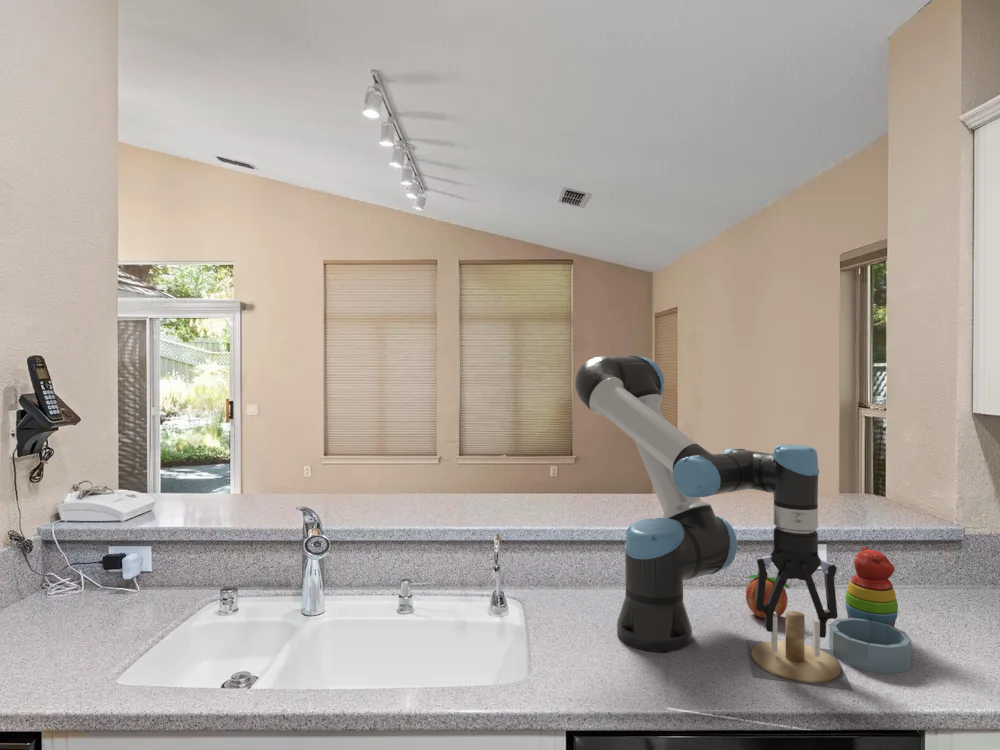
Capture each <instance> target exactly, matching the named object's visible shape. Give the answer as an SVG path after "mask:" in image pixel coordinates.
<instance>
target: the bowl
mask: <svg viewBox="0 0 1000 750" xmlns="http://www.w3.org/2000/svg"><path fill="white" fill-rule="evenodd" d="M828 649H830V650H831V652H832V654H833V656H835V657H836V658H837V659H838V661H839V660H840V661H841V662H842V663H845V665H848V666H850V667H854V668H857V669H861V670H863V671H867V672H871V673H881V674H887V675H888V674H889V675H891V674H898V673H906V672H907V671H908V670H909V668H911V666H912V639H911V638H910V637H909V635H908V634H907V633H906V632H905V631H903V630H901V629H899V628H897V627H895V626H894V627H893V626H891V625H888V624H884V623H881V622H877V621H873V620H868V619H858V618H848V617H847V618H846V617H845V618H836V619H834V620H833V621H832V622H830V624H829V648H828Z"/></svg>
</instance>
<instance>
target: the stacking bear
mask: <svg viewBox="0 0 1000 750" xmlns="http://www.w3.org/2000/svg"><path fill="white" fill-rule="evenodd" d="M853 565H854V569H855V572H856V574H855V575H854V576H853V577H852V578H851V580H849V582H848V585H847V589H846V592H845V610H846V613H847V614H846V615H847V618H858V619H868V620H873V621H877V622H881V623H884V624H888V625H891V626H893V627H895V625H896V620H897V618H898V612H899V611H898V610H899V606H898V599H897V596H896V595H897V594H896V592H895V588H894V587H893V586H894V584H893V583H892V582H891V580H890V579H891V577H892V576H893V574H894V573H895V568H896V567H895V565H894V564H893V563H892V562H891V561H890V560H889V559H888V557H887V556H886V555H885V554H884V553H882V552H880V551H878V550H876V549H869V548H867V546H864V547H862V548H861V550H860V551H858V553H857V554H856V555H855V557H854V559H853Z"/></svg>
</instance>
